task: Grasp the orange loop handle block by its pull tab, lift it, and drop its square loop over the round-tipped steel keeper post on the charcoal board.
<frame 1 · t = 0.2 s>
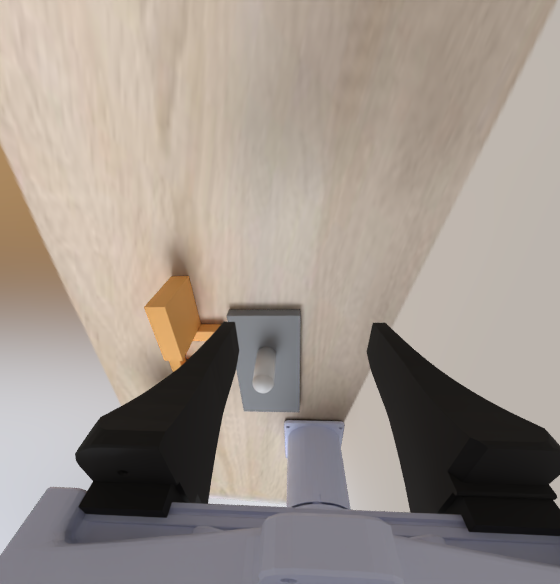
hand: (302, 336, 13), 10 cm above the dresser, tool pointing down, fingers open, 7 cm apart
keeper board: (268, 363, 28), on the dresser
orange loop handle block: (199, 347, 27), on the dresser
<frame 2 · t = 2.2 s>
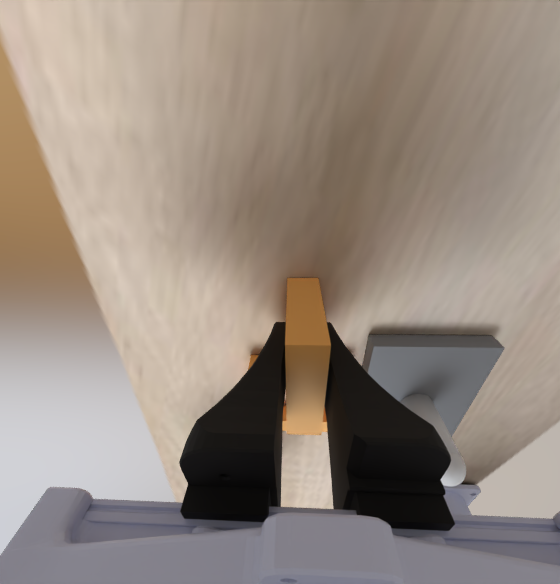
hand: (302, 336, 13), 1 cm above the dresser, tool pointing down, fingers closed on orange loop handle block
keeper board: (400, 412, 18), on the dresser
orange loop handle block: (300, 388, 18), on the dresser, touching gripper
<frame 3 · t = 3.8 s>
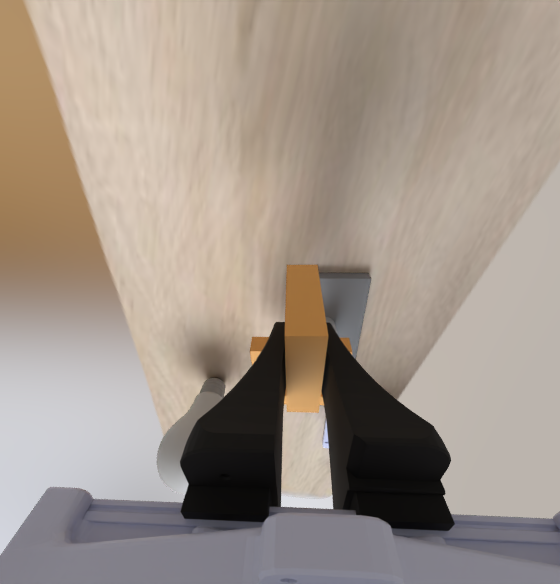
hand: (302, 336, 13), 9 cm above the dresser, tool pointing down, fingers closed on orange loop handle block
keeper board: (321, 338, 25), on the dresser
lightbulb: (216, 378, 30), on the dresser
orange loop handle block: (299, 366, 18), point 7 cm above the dresser, tilted 6°, touching gripper
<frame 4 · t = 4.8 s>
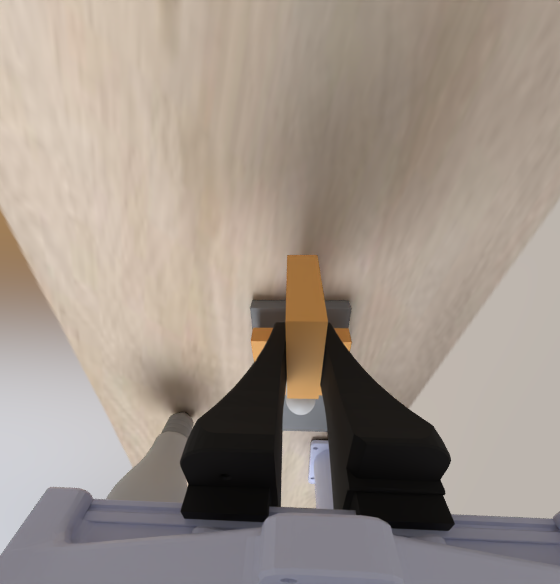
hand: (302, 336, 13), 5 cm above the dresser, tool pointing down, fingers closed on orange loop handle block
keeper board: (298, 371, 22), on the dresser
lightbulb: (184, 412, 26), on the dresser
orange loop handle block: (299, 357, 19), point 2 cm above the dresser, tilted 7°, touching gripper
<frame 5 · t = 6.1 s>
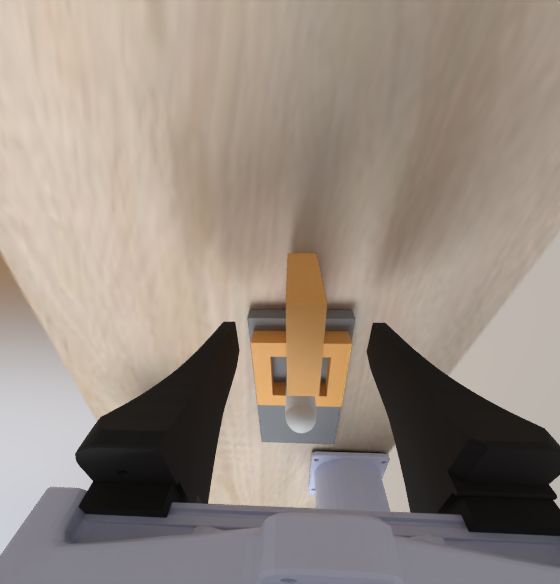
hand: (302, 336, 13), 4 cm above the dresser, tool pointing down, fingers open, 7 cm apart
keeper board: (298, 382, 21), on the dresser
orange loop handle block: (299, 364, 18), point 1 cm above the dresser, touching keeper board
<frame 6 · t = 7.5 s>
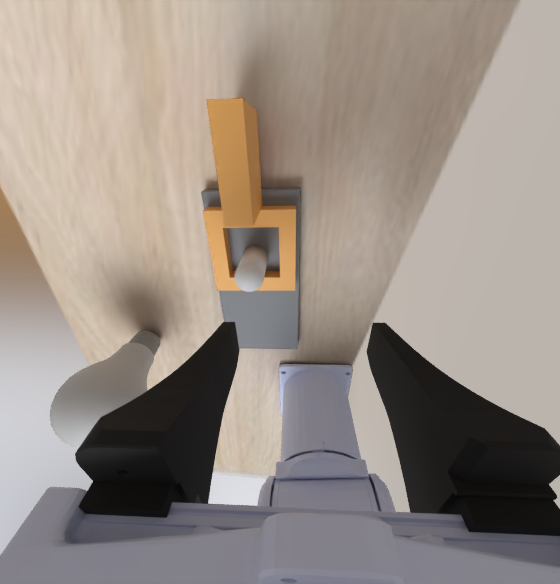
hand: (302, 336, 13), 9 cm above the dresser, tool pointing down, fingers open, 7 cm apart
keeper board: (259, 278, 22), on the dresser
lightbulb: (152, 333, 26), on the dresser
orange loop handle block: (254, 248, 20), point 1 cm above the dresser, touching keeper board
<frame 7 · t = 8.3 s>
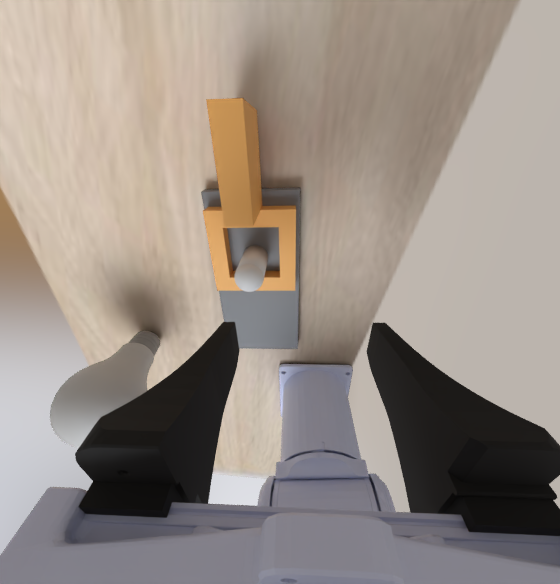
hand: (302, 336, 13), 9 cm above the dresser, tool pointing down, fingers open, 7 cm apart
keeper board: (259, 278, 22), on the dresser
lightbulb: (152, 333, 26), on the dresser
orange loop handle block: (254, 248, 20), point 1 cm above the dresser, touching keeper board
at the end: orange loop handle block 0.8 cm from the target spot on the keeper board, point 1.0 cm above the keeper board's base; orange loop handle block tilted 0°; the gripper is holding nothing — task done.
